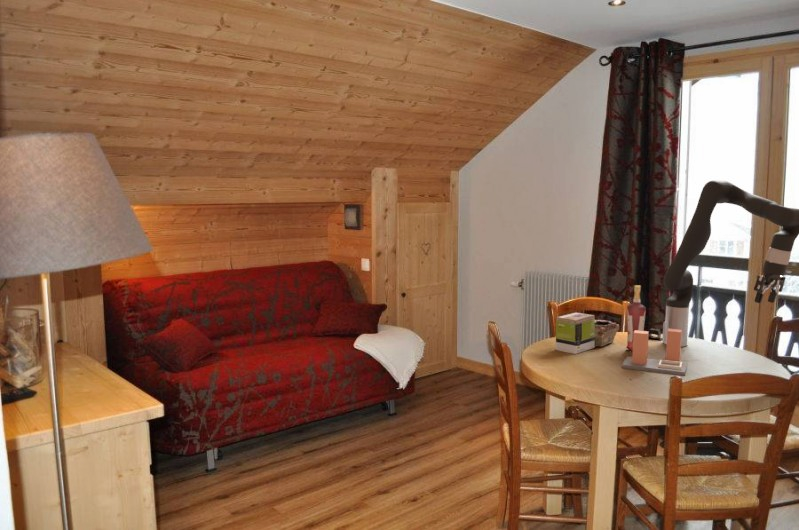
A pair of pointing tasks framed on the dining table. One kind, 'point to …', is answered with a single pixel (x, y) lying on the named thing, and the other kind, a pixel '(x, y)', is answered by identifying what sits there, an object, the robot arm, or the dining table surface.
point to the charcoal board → (642, 363)
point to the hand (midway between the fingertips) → (764, 302)
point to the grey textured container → (605, 332)
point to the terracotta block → (673, 345)
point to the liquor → (635, 317)
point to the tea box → (575, 332)
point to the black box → (656, 332)
